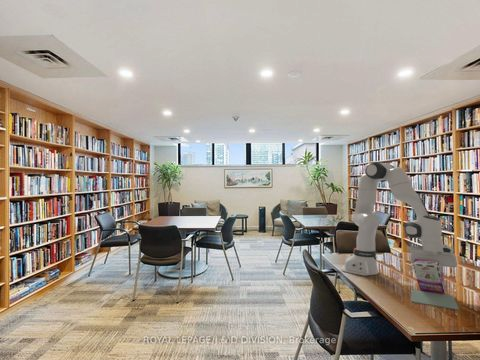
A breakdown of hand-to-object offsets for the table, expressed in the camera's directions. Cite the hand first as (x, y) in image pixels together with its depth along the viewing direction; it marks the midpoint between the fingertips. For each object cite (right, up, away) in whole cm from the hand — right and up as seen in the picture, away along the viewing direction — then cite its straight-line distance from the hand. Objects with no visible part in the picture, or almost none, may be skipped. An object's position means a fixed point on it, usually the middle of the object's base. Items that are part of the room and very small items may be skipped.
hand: (433, 273), depth 145 cm
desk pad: (-7, -9, -10) cm, 16 cm away
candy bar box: (0, -8, 0) cm, 8 cm away
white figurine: (+5, -10, +18) cm, 22 cm away
